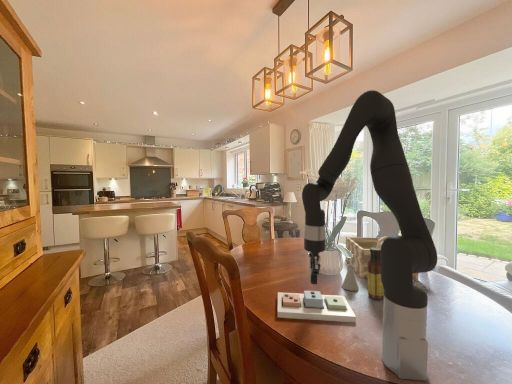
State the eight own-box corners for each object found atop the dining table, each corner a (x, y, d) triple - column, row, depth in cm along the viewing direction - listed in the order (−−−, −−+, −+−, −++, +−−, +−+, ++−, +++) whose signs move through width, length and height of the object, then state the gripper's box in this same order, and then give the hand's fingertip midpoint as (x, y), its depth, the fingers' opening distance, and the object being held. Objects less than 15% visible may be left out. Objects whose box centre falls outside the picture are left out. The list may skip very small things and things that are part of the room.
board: (355, 322, 75) (355, 316, 75) (277, 317, 78) (277, 311, 78) (343, 300, 89) (343, 295, 89) (277, 297, 92) (277, 292, 92)
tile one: (346, 313, 80) (346, 304, 79) (328, 312, 80) (328, 303, 80) (341, 304, 85) (341, 296, 85) (325, 303, 86) (325, 295, 86)
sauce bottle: (384, 295, 94) (386, 248, 93) (384, 302, 88) (386, 252, 88) (367, 291, 97) (368, 245, 96) (366, 297, 92) (367, 249, 91)
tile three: (299, 311, 81) (300, 302, 81) (283, 309, 82) (283, 301, 82) (298, 302, 87) (298, 293, 87) (282, 301, 88) (282, 293, 88)
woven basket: (418, 280, 109) (419, 251, 108) (361, 277, 111) (361, 249, 111) (391, 261, 135) (391, 238, 134) (345, 259, 138) (346, 236, 137)
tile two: (322, 307, 80) (323, 298, 80) (305, 306, 81) (305, 297, 81) (319, 299, 86) (319, 290, 86) (303, 298, 87) (303, 289, 87)
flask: (360, 292, 96) (361, 269, 96) (342, 290, 98) (343, 268, 97) (356, 285, 103) (357, 263, 103) (340, 283, 105) (340, 262, 104)
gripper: (328, 242, 76) (327, 292, 77) (321, 233, 89) (321, 276, 90) (306, 241, 77) (305, 291, 77) (302, 232, 90) (301, 275, 91)
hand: (313, 283), depth 84 cm, fingers closed
